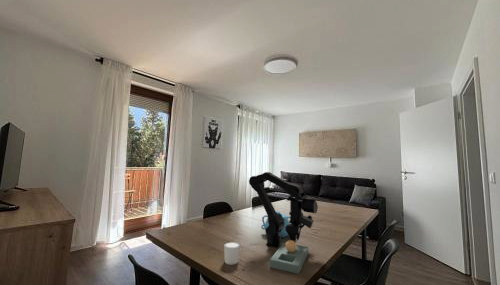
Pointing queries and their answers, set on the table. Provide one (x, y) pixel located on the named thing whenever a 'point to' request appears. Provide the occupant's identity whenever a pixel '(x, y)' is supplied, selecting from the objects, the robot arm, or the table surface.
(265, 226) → the decorative pot
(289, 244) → the ball
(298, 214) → the robot arm
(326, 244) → the table surface
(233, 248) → the white cylinder
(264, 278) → the table surface
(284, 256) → the deck
